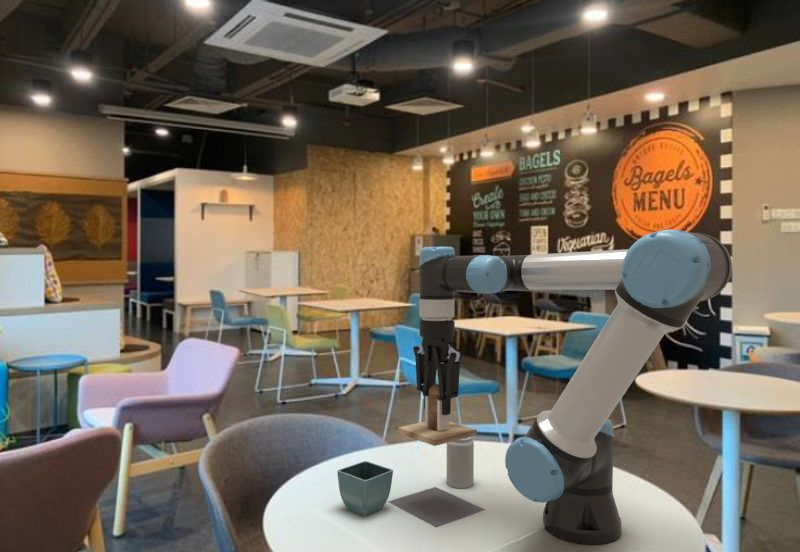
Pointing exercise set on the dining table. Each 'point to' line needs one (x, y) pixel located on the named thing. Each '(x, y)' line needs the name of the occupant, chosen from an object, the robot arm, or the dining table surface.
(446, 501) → the mat
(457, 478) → the beverage can
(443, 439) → the lid
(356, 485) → the flower pot
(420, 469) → the dining table surface
